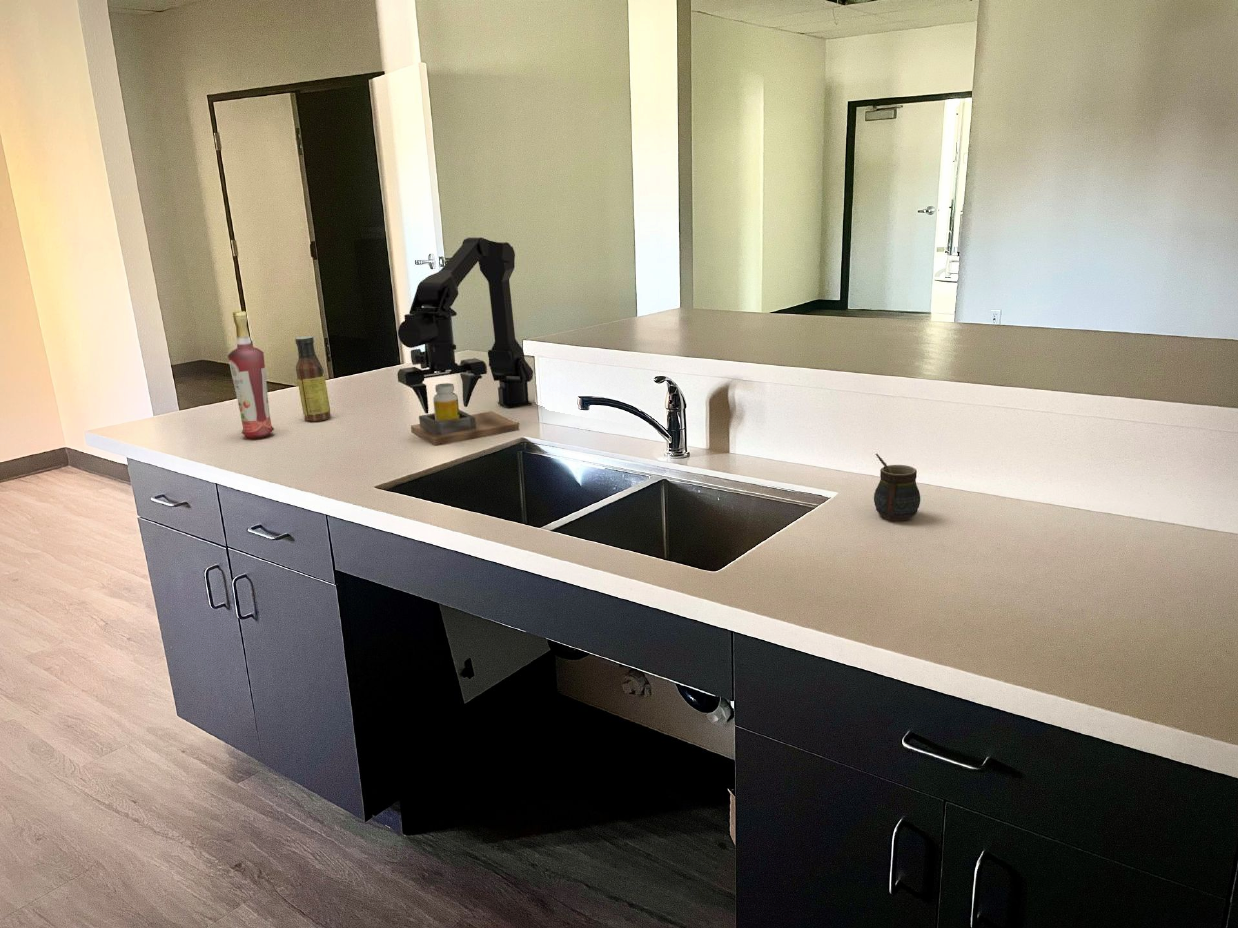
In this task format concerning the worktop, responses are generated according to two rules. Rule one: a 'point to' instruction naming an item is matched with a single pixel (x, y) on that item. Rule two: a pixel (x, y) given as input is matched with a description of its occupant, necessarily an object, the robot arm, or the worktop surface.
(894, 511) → the mate gourd
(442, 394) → the supplement bottle
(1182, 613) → the worktop surface
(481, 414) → the socket board
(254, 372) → the liquor
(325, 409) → the sauce bottle
